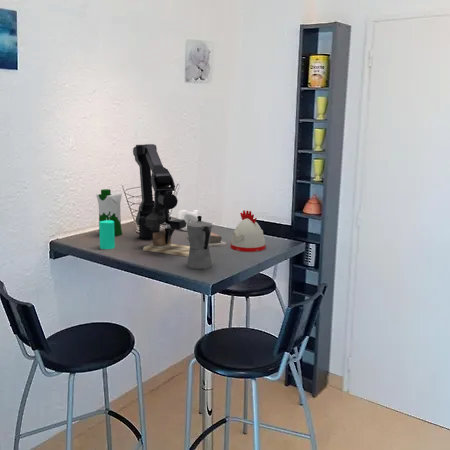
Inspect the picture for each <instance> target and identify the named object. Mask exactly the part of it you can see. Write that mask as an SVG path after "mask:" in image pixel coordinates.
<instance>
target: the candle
mask: <svg viewBox="0 0 450 450" xmlns="http://www.w3.org/2000/svg"><path fill="white" fill-rule="evenodd" d="M98 236H99V248H100V249H101V250H112V249H115V248H116V241H115V240H116V239H115V237H116V236H115V233H114V221H112V220H107V218H106V220H104V221H100V222H99V221H98Z"/></svg>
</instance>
